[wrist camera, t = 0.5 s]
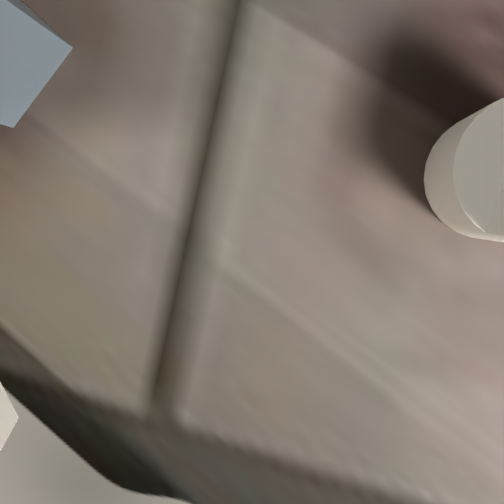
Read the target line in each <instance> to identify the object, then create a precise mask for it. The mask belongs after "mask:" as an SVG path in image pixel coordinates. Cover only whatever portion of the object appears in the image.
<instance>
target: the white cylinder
mask: <svg viewBox="0 0 504 504" xmlns="http://www.w3.org/2000/svg"><path fill="white" fill-rule="evenodd" d="M424 186H425V194H426V197H427V199H428V202H429V204H430V206H431V209H432V210H433V212H434V213H435V214H436V215H437V217H438V218H439V219H440V220H441V221H442V223H444V224H445V225H447V226H448V227H450V228H451V229H452V230H454V231H455V232H458V233H461V234H463V235H466V236H469V237H473V238H479V239H486V240H492V241H498V242H504V98H502V99H500V100H498V101H496V102H494V103H492V104H490V105H488V106H486V107H484V108H483V109H481V110H479V111H477V112H475V113H474V114H472V115H470V116H468V117H466V118H465V119H463V120H461V121H459V122H457V123H456V124H454V125H453V126H452V127H451V128H449V129H448V130H447V131H446V132H444V133H443V134H442V135H441V137H440V138H439V139H438V141H437V142H436V143H435V145H434V146H433V147H432V149H431V152H430V154H429V156H428V159H427V161H426V165H425V172H424Z"/></svg>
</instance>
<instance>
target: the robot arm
mask: <svg viewBox="0 0 504 504" xmlns="http://www.w3.org/2000/svg"><path fill="white" fill-rule="evenodd" d="M18 418H19V417H18V415H17V413H16V411H15V410H14V408H13V406H12V404H11V402H10V400H9V398H8V396H7V394H6V392H5V390H4V388H3V386H2V385H1V383H0V451H1V449H2V448H3V446H4V444H5V442H6V440H7V438H8V436H9V435H10V433H11V431H12V429H13V427H14V426H15V424H16V422H17V420H18Z"/></svg>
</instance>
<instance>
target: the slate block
mask: <svg viewBox="0 0 504 504" xmlns="http://www.w3.org/2000/svg"><path fill="white" fill-rule="evenodd" d="M72 49H73V47H72V46H70V45H69V44H68V43H67V42H66V41H65V40H64V39H63V38H62V37H60V36H59V35H58V34H57V33H56V32H55V31H54V30H53V29H52V28H50V27H49V26H48V25H47V24H46V23H45V22H44V21H43V20H42V19H40V18H39V17H38V16H37V15H36V14H35V13H34V12H33V11H32V10H30V9H29V8H28V7H27V6H26V5H25V4H24V3H23V2H22V1H21V0H0V124H1V125H5V126H8V127H12V128H14V126H15V125H16V124H17V122H18V121H19V120H20V118H21V117H22V116H23V114H24V113H25V112H26V110H27V109H28V108H29V106H30V105H31V104H32V102H33V101H34V100H35V98H36V97H37V96H38V94H39V93H40V92H41V90H42V89H43V88H44V86H45V85H46V83H47V82H48V81H49V79H50V78H51V77H52V75H53V74H54V73H55V71H56V70H57V69H58V67H59V66H60V65H61V63H62V62H63V61H64V59H65V58H66V57H67V55H68V54H69V53H70V51H71V50H72Z"/></svg>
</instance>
